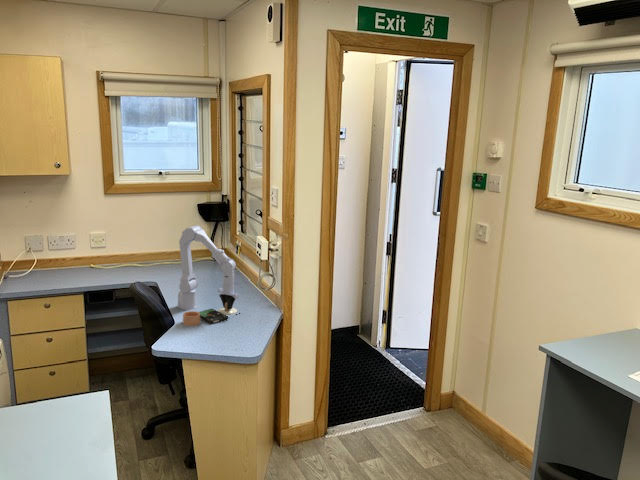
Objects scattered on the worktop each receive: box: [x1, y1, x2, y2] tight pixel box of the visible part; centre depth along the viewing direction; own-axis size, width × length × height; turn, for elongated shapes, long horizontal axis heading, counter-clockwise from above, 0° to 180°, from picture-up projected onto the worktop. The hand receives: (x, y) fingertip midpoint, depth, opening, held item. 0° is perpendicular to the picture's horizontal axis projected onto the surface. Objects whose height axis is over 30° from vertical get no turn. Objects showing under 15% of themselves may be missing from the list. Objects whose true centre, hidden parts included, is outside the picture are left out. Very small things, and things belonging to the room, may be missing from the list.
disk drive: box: [198, 308, 229, 325], centre depth 257 cm, size 10×3×15 cm
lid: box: [217, 302, 238, 315], centre depth 266 cm, size 10×10×5 cm
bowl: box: [182, 310, 201, 327], centre depth 250 cm, size 8×8×4 cm
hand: (227, 308), depth 266 cm, fingers closed on lid, 3 cm apart
